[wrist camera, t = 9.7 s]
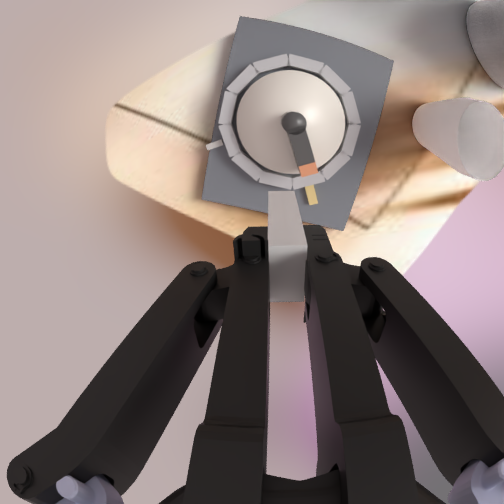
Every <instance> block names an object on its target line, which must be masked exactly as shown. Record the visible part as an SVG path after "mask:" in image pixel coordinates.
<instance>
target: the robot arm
mask: <svg viewBox="0 0 504 504" xmlns="http://www.w3.org/2000/svg"><path fill="white" fill-rule="evenodd" d="M233 246H234V256H235V261H234V264H233V265H231V266H229V267H226V268H222V269H218V270H216V268H215V266H214V265H213V264H212V263H209V262H206V261H199V262H193V263H191V264H189V265H187V266H186V267H185V268H183V270H182V271H181V272H180V273H179V274H178V275H177V277H176V278H175V279H174V280H173V281H172V282H171V283H170V285H169V286H168V287H167V288H166V289H165V291H164V292H163V293H162V294H161V295H160V297H159V298H158V299H157V300H156V301H155V302H154V304H153V305H152V306H151V307H150V308H149V310H148V311H147V312H146V313H145V314H144V316H143V317H142V318H141V319H140V320H139V322H138V323H137V324H136V325H135V327H134V328H133V329H132V330H131V331H130V333H129V334H128V335H127V336H126V338H125V339H124V340H123V342H122V343H121V344H120V345H119V346H118V348H117V349H116V350H115V351H114V353H113V354H112V355H111V356H110V358H109V359H108V360H107V362H106V363H105V364H104V365H103V367H102V368H101V370H100V371H99V372H98V373H97V375H96V376H95V377H94V378H93V380H92V381H91V382H90V384H89V385H88V387H87V388H86V389H85V390H84V392H83V393H82V394H81V395H80V397H79V398H78V399H77V401H76V402H75V404H74V405H73V406H72V408H71V409H70V410H69V412H68V413H67V415H66V416H65V417H64V419H63V420H62V422H61V423H60V424H59V426H58V427H57V428H56V429H54V430H53V431H52V432H50V433H49V434H47V435H46V436H45V437H43V438H42V439H40V440H39V441H38V442H36V443H35V444H33V445H32V446H31V447H29V448H28V449H26V450H25V451H23V452H22V453H21V454H20V455H18V456H16V457H15V458H14V459H13V460H12V461H11V462H10V463H9V466H8V469H7V480H8V484H9V486H10V488H11V490H12V491H13V492H14V493H15V494H16V495H17V496H19V497H20V498H22V499H24V500H26V501H28V502H30V503H32V504H124V503H123V500H122V498H121V495H122V494H124V493H125V492H126V491H127V490H128V488H129V487H130V486H131V485H132V484H133V483H134V482H135V480H136V479H137V477H138V475H139V474H140V472H141V471H142V469H143V468H144V466H145V464H146V462H147V461H148V459H149V457H150V455H151V453H152V452H153V450H154V448H155V446H156V444H157V443H158V441H159V439H160V437H161V435H162V434H163V432H164V430H165V428H166V426H167V425H168V423H169V421H170V419H171V417H172V416H173V414H174V412H175V410H176V408H177V407H178V405H179V403H180V401H181V399H182V397H183V395H184V394H185V392H186V390H187V388H188V387H189V385H190V383H191V381H192V379H193V377H194V375H195V374H196V372H197V370H198V368H199V366H200V365H201V363H202V361H203V359H204V357H205V355H206V354H207V352H208V350H209V348H210V346H211V344H212V343H213V341H214V339H215V337H216V335H217V333H218V332H219V330H220V328H221V326H222V328H221V333H220V339H219V344H218V349H217V354H216V360H215V365H214V371H213V376H212V382H211V388H210V393H209V398H208V404H207V410H206V415H205V419H204V421H203V423H201V424H199V426H198V428H197V430H196V433H195V437H194V443H193V447H192V453H191V458H190V464H189V470H188V475H187V481H186V485H185V486H183V487H181V488H179V489H177V490H176V491H174V492H173V493H172V494H171V495H169V496H168V497H167V498H165V499H164V500H163V501H161V502H160V503H159V504H446V503H444V502H443V501H442V500H440V499H438V497H436V496H435V495H434V494H432V493H431V492H430V491H429V490H427V489H426V488H425V487H423V486H422V485H421V484H419V483H418V482H417V481H416V480H415V475H414V469H413V464H412V459H411V454H410V449H409V445H408V440H407V436H406V432H405V428H404V425H403V422H402V420H401V419H400V417H399V416H398V415H393V414H391V412H390V410H389V408H388V404H387V400H386V396H385V392H384V388H383V384H382V380H381V377H380V373H379V370H378V366H377V363H376V360H377V361H378V363H379V365H380V366H381V368H382V370H383V371H384V373H385V374H386V376H387V378H388V379H389V381H390V383H391V385H392V386H393V388H394V390H395V392H396V393H397V395H398V397H399V398H400V400H401V402H402V404H403V405H404V407H405V409H406V411H407V413H408V414H409V416H410V418H411V420H412V421H413V423H414V425H415V427H416V429H417V430H418V432H419V434H420V436H421V438H422V440H423V442H424V444H425V445H426V447H427V449H428V451H429V453H430V455H431V457H432V459H433V460H434V462H435V464H436V465H437V467H438V469H439V470H440V472H441V473H442V474H443V476H444V477H445V478H446V479H447V481H449V482H450V483H451V485H453V489H452V490H451V491H450V493H449V495H448V502H449V503H450V504H504V396H503V395H502V393H501V392H500V391H499V389H498V387H497V386H496V385H495V383H494V382H493V381H492V379H491V378H490V376H489V375H488V374H487V373H486V371H485V370H484V369H483V367H482V366H481V365H480V363H479V362H478V361H477V360H476V359H475V357H474V356H473V355H472V353H471V352H470V351H469V350H468V348H467V347H466V346H465V345H464V343H463V342H462V341H461V340H460V339H459V337H458V336H457V335H456V334H455V333H454V331H453V330H452V329H451V328H450V327H449V326H448V325H447V323H446V322H445V321H444V320H443V319H442V318H441V316H440V315H439V314H438V313H437V312H436V311H435V310H434V309H433V308H432V307H431V305H430V304H429V303H428V302H427V301H426V300H425V299H424V298H423V297H422V296H421V295H420V294H419V292H418V291H417V290H416V289H415V288H414V287H413V286H412V285H411V284H410V283H409V282H408V281H407V280H406V279H405V278H404V277H403V276H402V275H401V274H400V273H399V272H398V271H397V270H396V269H395V268H394V267H393V266H392V265H391V264H390V263H389V262H387V261H386V260H384V259H381V258H377V257H369V258H366V259H364V260H363V261H361V266H354V265H349V264H346V263H343V261H342V259H341V257H340V256H339V254H337V253H336V252H334V251H333V249H332V246H331V244H330V241H329V238H328V236H327V233H326V231H325V229H324V228H323V227H321V226H320V225H303V224H302V220H301V216H300V212H299V208H298V204H297V200H296V196H295V192H294V191H268V226H267V227H248V228H247V229H246V230H245V231H244V232H243V234H242V235H239V236H237V237H236V238H235V239H234V240H233ZM304 296H305V312H304V323H305V322H306V324H307V333H308V341H309V351H310V360H311V370H312V381H313V392H314V404H315V417H316V430H317V445H318V446H317V447H318V461H317V469H316V477H314V478H310V479H307V480H302V481H297V480H291V479H286V478H281V477H276V476H271V475H267V474H266V461H267V428H268V395H269V394H268V393H269V344H270V302H302V301H304ZM383 309H384V310H385V311H384V310H383ZM375 358H376V359H375Z"/></svg>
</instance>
